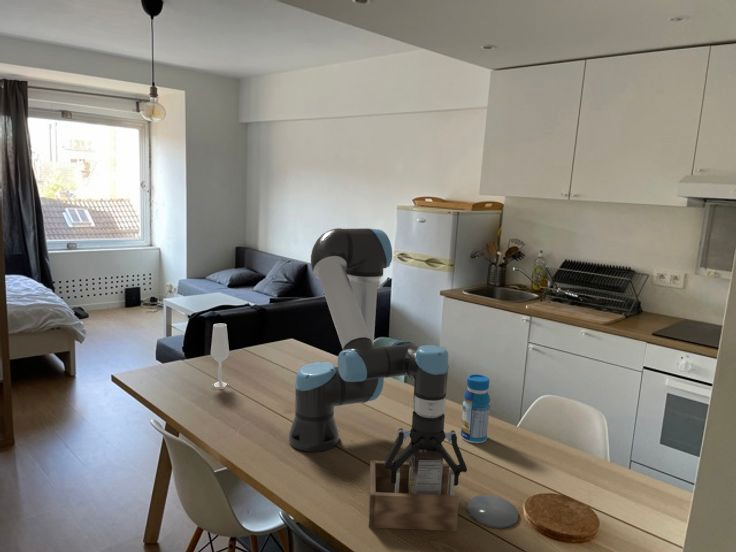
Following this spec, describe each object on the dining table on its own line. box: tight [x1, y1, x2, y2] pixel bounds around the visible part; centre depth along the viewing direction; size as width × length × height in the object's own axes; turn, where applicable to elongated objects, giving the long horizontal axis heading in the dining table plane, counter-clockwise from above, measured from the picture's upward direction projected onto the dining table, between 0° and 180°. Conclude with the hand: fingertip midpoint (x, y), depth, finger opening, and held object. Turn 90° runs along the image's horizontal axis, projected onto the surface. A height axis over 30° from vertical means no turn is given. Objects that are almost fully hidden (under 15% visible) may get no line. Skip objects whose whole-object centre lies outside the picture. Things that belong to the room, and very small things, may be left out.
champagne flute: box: [210, 323, 230, 387], centre depth 197 cm, size 7×7×24 cm
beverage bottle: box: [460, 373, 491, 444], centre depth 164 cm, size 8×8×20 cm
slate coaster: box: [466, 494, 519, 529], centre depth 127 cm, size 12×12×1 cm
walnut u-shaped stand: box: [368, 459, 460, 532], centre depth 126 cm, size 20×15×8 cm
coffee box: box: [408, 439, 444, 495], centre depth 126 cm, size 9×6×16 cm
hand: (423, 496), depth 126 cm, fingers open, 12 cm apart
